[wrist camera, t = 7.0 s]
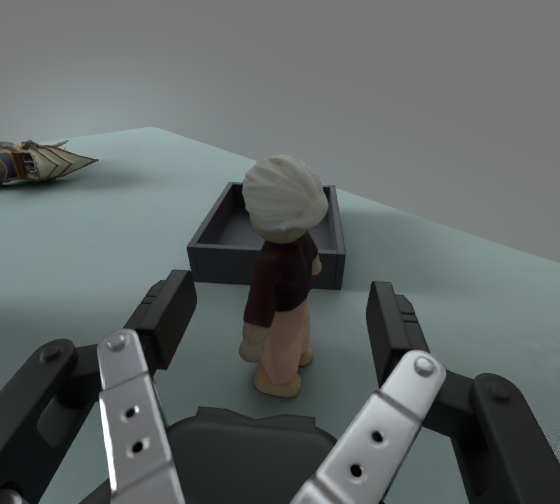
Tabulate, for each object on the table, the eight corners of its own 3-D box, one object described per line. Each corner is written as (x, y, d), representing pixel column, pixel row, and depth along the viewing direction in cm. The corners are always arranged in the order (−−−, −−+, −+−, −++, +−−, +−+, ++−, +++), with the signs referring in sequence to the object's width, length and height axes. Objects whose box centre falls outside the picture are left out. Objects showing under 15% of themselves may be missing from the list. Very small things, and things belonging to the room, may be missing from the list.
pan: (193, 281, 26) (185, 246, 24) (231, 208, 37) (228, 181, 36) (341, 289, 25) (346, 254, 23) (332, 212, 36) (335, 185, 35)
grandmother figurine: (268, 320, 22) (262, 133, 15) (322, 330, 21) (342, 137, 14) (225, 426, 16) (180, 191, 9) (299, 447, 15) (314, 205, 8)
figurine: (10, 128, 52) (111, 129, 52) (24, 164, 55) (120, 164, 55) (-121, 153, 35) (32, 153, 35) (-90, 204, 37) (51, 204, 38)
